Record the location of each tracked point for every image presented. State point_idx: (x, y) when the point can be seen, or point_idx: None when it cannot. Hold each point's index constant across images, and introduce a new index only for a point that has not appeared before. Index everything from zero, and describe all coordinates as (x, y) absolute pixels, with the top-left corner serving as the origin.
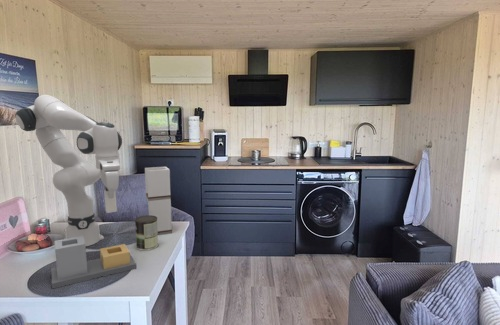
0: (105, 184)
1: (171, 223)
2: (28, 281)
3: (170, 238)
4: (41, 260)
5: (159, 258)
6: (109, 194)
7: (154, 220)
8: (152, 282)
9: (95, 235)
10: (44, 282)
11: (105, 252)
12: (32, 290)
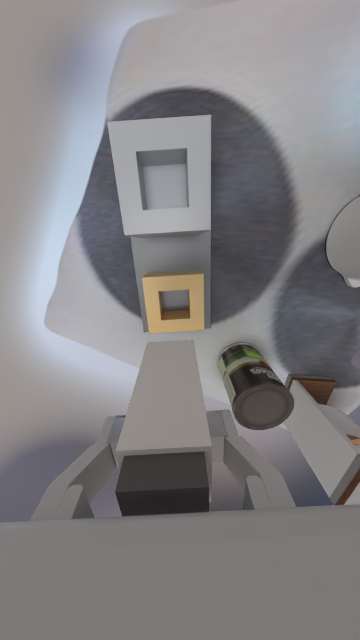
0: (38, 574)
1: (287, 427)
2: (189, 88)
3: None
4: (313, 116)
5: None
6: (97, 445)
7: (236, 420)
8: (80, 342)
9: (353, 269)
10: None
11: (171, 284)
12: (132, 106)
